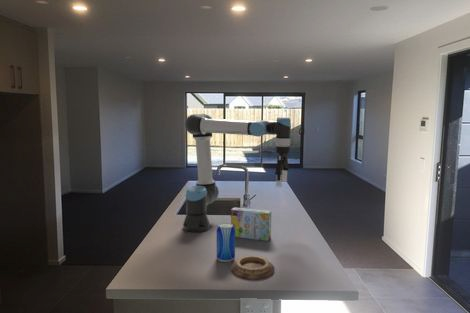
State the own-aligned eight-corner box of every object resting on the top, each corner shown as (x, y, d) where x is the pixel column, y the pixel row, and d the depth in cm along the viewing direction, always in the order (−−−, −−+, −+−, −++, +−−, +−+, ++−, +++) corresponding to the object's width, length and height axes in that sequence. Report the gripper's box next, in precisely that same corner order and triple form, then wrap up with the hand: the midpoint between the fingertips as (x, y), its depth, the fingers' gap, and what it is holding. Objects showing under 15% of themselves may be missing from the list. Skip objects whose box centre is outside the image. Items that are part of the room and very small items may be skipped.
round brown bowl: (226, 276, 144) (226, 268, 143) (237, 258, 161) (237, 251, 160) (270, 282, 139) (270, 274, 139) (276, 263, 156) (276, 256, 156)
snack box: (271, 238, 187) (271, 210, 185) (268, 241, 182) (269, 213, 180) (233, 233, 194) (233, 206, 192) (230, 236, 189) (230, 209, 186)
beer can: (216, 255, 164) (216, 222, 162) (234, 254, 165) (234, 221, 163) (216, 263, 156) (216, 228, 154) (235, 262, 156) (236, 228, 154)
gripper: (284, 148, 179) (283, 189, 182) (294, 144, 202) (292, 180, 205) (270, 147, 182) (269, 188, 185) (281, 143, 205) (280, 179, 208)
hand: (281, 184), depth 195 cm, fingers open, 13 cm apart
